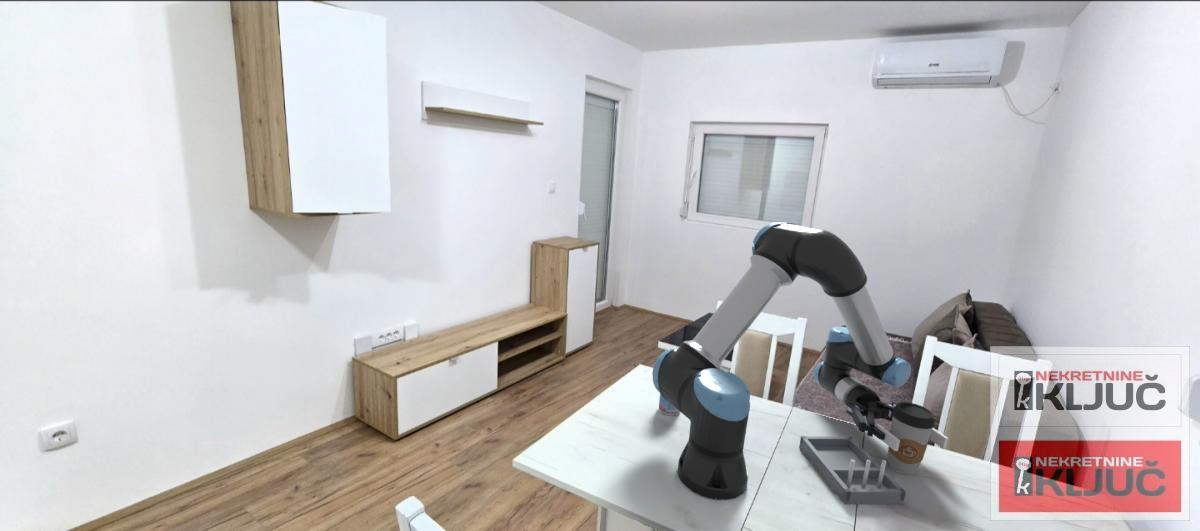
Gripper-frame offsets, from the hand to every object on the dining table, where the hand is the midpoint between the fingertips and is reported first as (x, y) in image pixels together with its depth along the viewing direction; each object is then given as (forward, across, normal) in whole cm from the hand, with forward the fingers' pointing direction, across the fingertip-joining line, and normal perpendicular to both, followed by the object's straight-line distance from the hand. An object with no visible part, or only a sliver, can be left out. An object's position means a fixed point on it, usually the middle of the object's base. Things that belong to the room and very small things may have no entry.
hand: (921, 444), depth 107 cm
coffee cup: (-4, 0, -9) cm, 9 cm away
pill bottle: (-32, +49, -9) cm, 59 cm away
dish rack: (-3, +15, -8) cm, 18 cm away
